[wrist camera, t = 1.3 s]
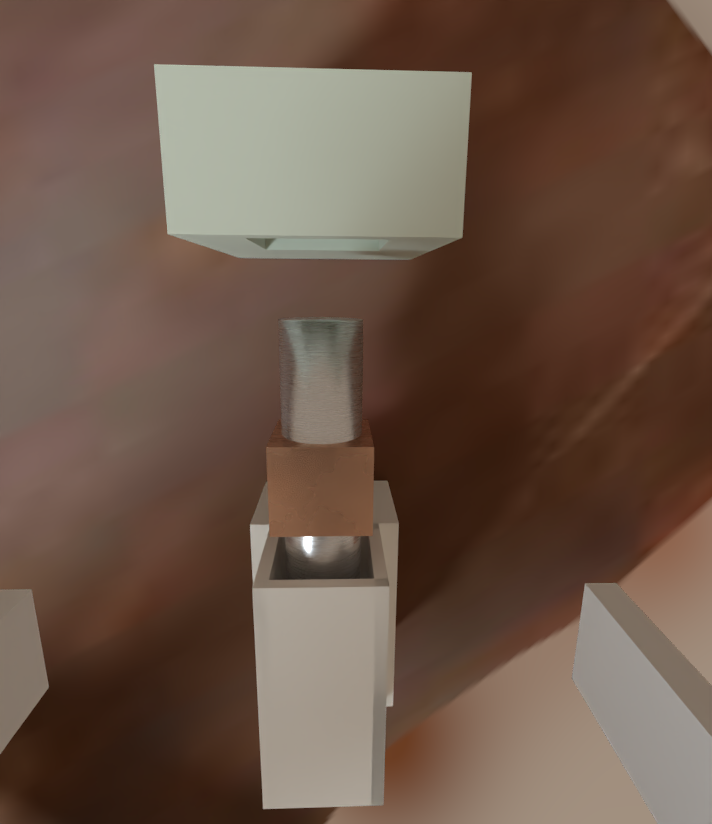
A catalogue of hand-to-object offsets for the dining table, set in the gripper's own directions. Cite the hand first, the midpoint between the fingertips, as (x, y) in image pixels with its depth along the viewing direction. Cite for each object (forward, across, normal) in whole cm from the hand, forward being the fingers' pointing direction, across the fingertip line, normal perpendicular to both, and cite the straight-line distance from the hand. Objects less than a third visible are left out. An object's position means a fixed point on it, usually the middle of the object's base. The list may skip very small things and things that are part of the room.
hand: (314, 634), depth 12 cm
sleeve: (+20, 0, +10) cm, 22 cm away
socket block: (+20, 0, -12) cm, 24 cm away
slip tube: (+13, 0, +3) cm, 14 cm away
